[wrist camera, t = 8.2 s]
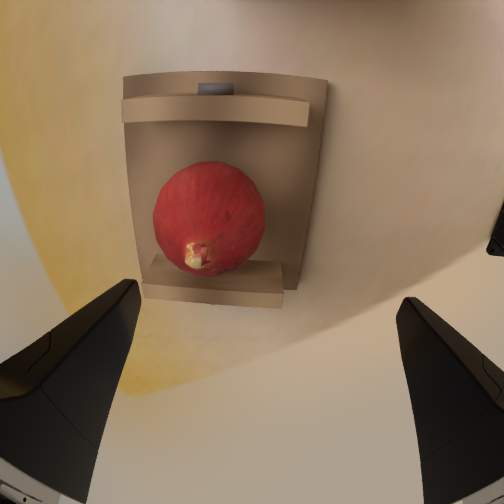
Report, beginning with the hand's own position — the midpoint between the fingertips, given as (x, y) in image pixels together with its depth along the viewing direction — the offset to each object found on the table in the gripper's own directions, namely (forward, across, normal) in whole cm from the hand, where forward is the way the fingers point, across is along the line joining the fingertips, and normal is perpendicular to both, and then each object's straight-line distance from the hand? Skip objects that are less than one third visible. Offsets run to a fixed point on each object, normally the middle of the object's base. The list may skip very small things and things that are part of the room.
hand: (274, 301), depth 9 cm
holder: (+12, +3, +1) cm, 12 cm away
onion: (+11, +3, +1) cm, 11 cm away
